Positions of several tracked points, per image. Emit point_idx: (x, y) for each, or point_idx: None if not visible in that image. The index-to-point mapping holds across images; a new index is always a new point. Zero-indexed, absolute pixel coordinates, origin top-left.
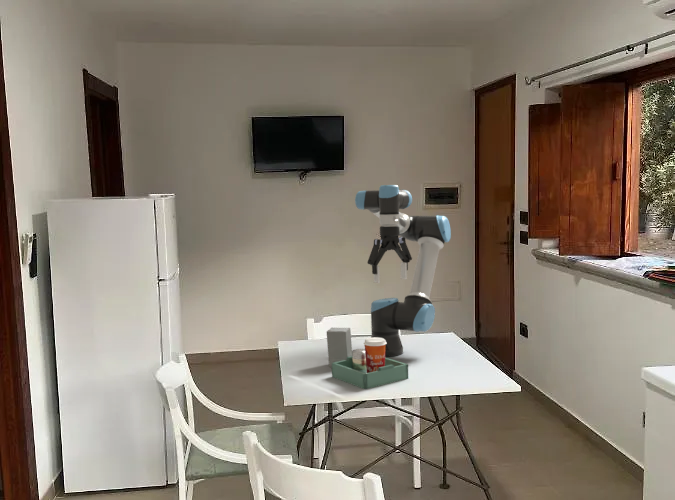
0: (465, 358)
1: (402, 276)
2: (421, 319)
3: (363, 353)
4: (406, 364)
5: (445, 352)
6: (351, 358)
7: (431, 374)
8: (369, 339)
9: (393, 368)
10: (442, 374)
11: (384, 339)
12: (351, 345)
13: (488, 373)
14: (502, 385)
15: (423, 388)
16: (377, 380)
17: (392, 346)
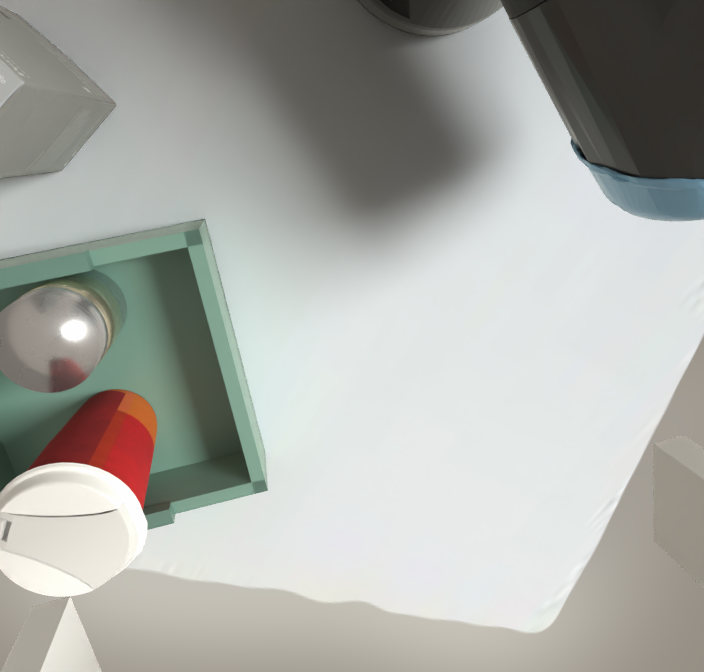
0: (674, 267)
1: (683, 507)
2: (632, 212)
3: (51, 390)
4: (260, 488)
5: None
6: (16, 284)
7: (397, 416)
8: (27, 525)
9: (175, 511)
10: (435, 435)
11: (123, 560)
12: (74, 101)
13: (585, 492)
14: (522, 618)
15: (265, 558)
16: None
17: (439, 13)
